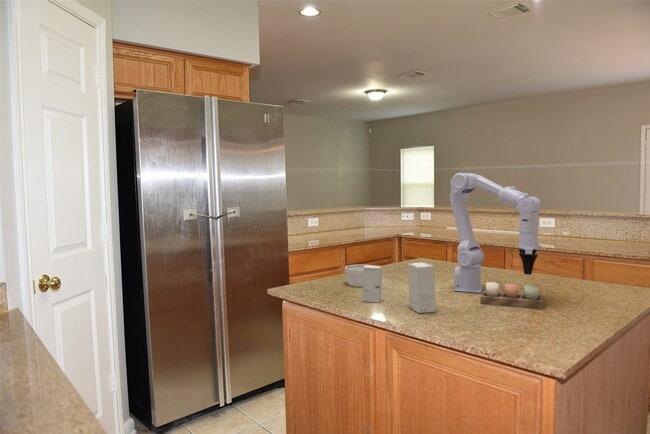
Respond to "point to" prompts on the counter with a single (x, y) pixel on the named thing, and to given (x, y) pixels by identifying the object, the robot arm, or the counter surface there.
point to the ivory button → (492, 289)
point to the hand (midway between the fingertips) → (527, 272)
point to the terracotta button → (511, 290)
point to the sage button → (531, 292)
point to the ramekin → (354, 275)
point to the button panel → (511, 301)
